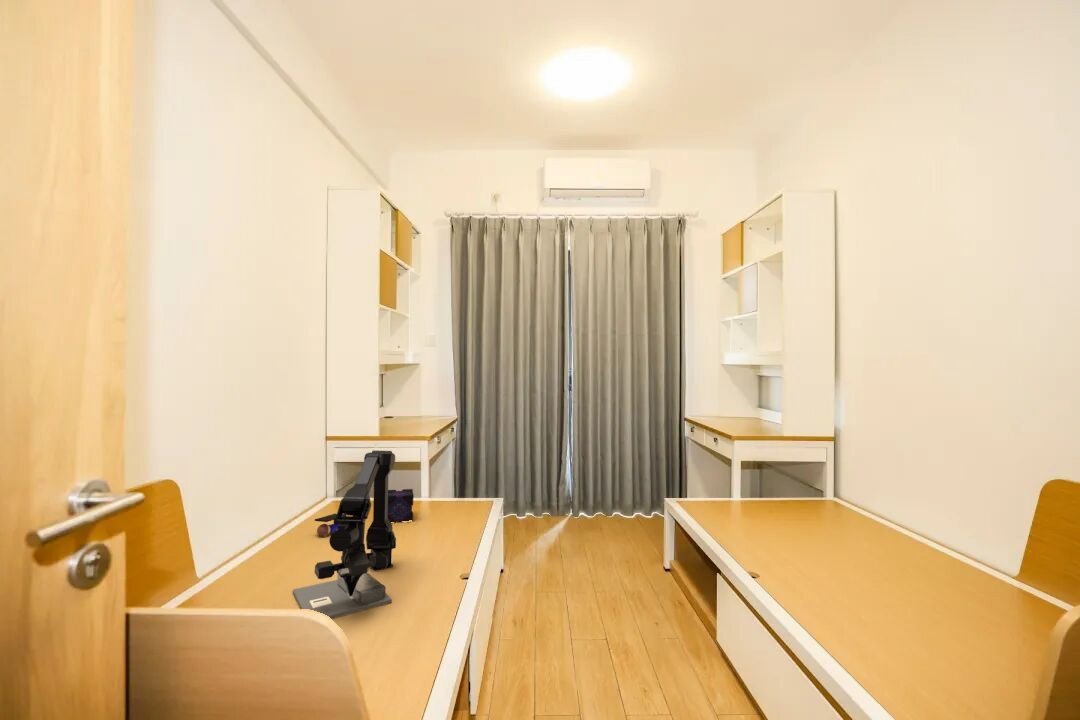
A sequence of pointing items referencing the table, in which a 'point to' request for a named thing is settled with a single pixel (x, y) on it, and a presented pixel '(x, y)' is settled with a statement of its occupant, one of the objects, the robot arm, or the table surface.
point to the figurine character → (324, 528)
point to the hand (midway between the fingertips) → (350, 595)
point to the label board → (332, 600)
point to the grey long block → (365, 589)
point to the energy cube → (400, 505)
